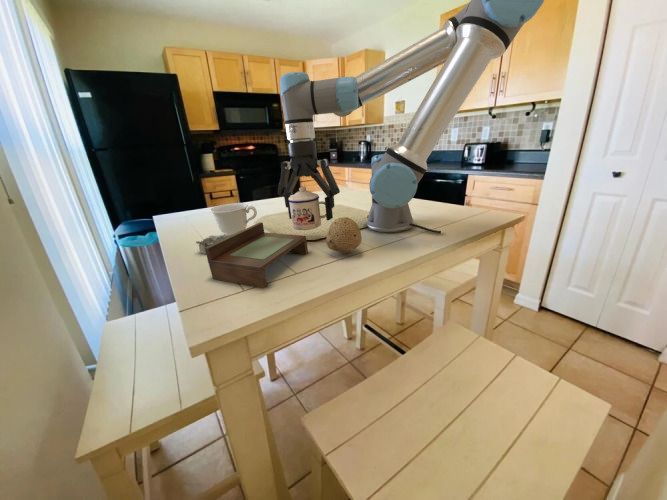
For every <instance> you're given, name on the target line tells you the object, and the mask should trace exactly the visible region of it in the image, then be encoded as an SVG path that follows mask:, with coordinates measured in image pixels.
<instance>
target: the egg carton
mask: <svg viewBox="0 0 667 500" xmlns="http://www.w3.org/2000/svg"><path fill="white" fill-rule="evenodd" d="M231 235H233V234H231ZM231 235H226V234H222V235H209V236H206V237H205V238H203V240H201V241H199V240H197V241H195V243H196V244H197V245H198V248H199V253H200V254H203V255H206V252H205V247H208V246H210V245H212V244H214V243H216V242H218V241H221V240H223V239H225V238H227V237H229V236H231Z"/></svg>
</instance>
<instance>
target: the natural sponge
mask: <svg viewBox="0 0 667 500" xmlns="http://www.w3.org/2000/svg"><path fill="white" fill-rule="evenodd" d="M325 242H326V246H327V248H329V249H330V250H332V251H335V252H337V253H339V254H343V255H344V254H345V255H346V254H348V253H350V252H352V251H353V250H355V249H357V248H358V247H359V246H360V244H361V243H362V233H361V229H360V227H359V225H358V223H357V222H356V221H355V220H353V219H352V218H350V217H348V216H343V217H338V218H335V220H334V221H332V222H331V224H330V225H329V229H328V231H327V234H326V239H325Z"/></svg>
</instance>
